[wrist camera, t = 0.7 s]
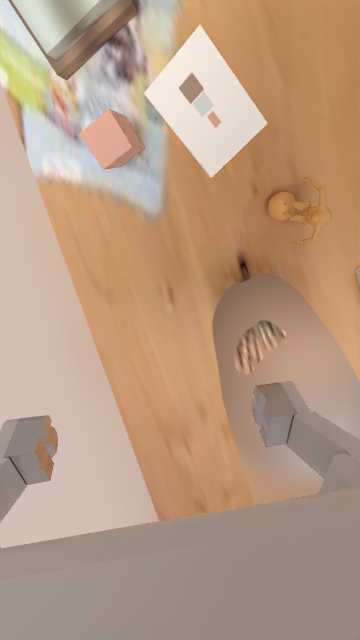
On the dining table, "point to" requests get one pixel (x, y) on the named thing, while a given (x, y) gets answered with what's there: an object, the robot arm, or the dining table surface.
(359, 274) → the light bulb box
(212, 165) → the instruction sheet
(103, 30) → the brick base
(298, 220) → the figurine
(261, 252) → the dining table surface
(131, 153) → the tall brick
